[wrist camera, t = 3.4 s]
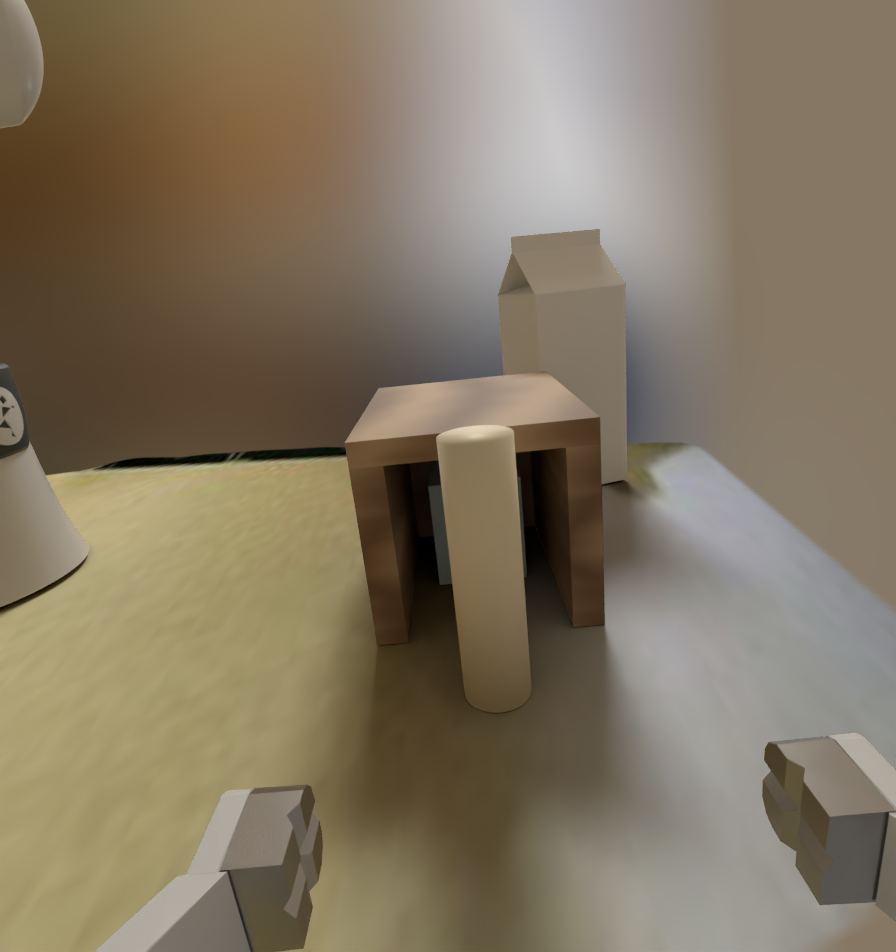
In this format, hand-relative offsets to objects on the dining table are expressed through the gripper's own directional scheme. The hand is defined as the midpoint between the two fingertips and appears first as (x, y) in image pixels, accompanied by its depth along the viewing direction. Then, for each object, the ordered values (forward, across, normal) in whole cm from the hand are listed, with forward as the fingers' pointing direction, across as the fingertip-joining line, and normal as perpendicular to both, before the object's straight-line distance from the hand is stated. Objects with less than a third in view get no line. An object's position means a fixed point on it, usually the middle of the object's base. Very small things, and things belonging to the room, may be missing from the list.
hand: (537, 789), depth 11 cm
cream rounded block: (+19, 0, +7) cm, 20 cm away
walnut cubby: (+23, 0, +7) cm, 24 cm away
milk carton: (+38, -8, +8) cm, 40 cm away
